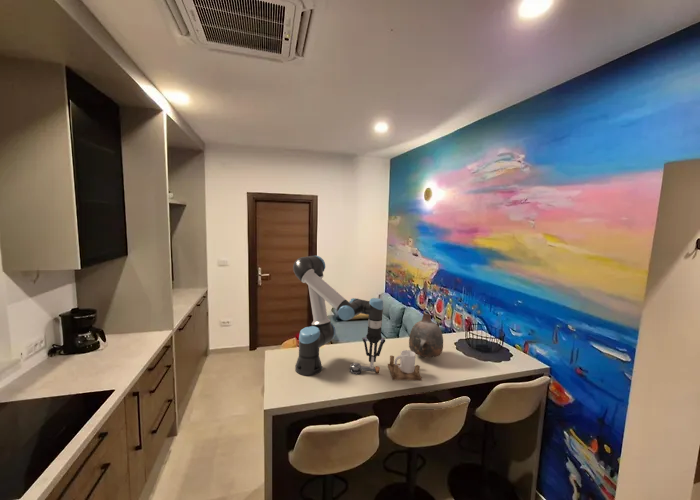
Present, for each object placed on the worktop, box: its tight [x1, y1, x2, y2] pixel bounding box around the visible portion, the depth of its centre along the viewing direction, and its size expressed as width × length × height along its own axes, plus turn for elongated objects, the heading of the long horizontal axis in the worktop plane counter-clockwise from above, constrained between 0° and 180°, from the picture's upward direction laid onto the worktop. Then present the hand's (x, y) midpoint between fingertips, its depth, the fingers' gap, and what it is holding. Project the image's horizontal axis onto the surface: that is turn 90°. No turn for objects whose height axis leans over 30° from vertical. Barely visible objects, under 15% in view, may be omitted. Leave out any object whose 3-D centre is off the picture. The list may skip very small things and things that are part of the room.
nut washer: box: [349, 368, 363, 375], centre depth 175 cm, size 7×7×1 cm
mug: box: [394, 349, 416, 373], centre depth 176 cm, size 12×8×10 cm
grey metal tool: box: [349, 362, 381, 374], centre depth 174 cm, size 6×17×4 cm, turn 80°
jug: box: [408, 311, 444, 358], centre depth 197 cm, size 24×21×30 cm
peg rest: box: [387, 354, 422, 381], centre depth 176 cm, size 16×16×7 cm
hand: (371, 367), depth 171 cm, fingers closed
